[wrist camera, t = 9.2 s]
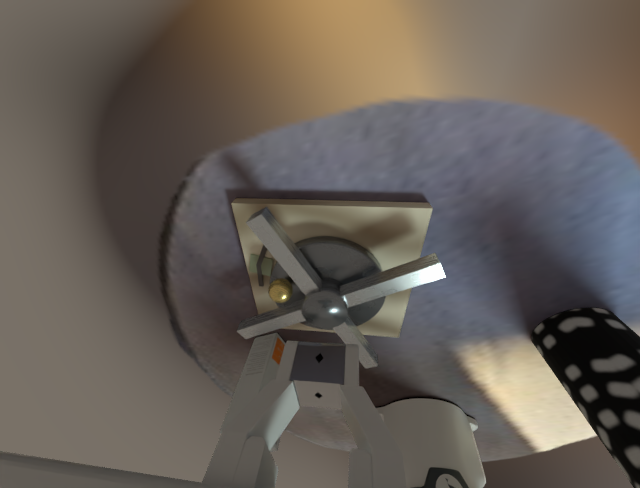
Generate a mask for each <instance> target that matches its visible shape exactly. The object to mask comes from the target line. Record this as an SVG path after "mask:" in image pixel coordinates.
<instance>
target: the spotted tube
mask: <svg viewBox="0 0 640 488" xmlns="http://www.w3.org/2000/svg"><path fill="white" fill-rule="evenodd" d="M532 342H533V344H534V345H535V347H536V348H537V349H538V351H539V352H540V354H541V355H542V357H543V358H544V359H545V361H546V362H547V364H548V365H549V367H550V368H551V370H552V371H553V372H554V374H555V375H556V377H557V378H558V380H559V381H560V382H561V384H562V385H563V387H564V388H565V390H566V391H567V392H568V394H569V395H570V397H571V398H572V400H573V401H574V402H575V404H576V405H577V407H578V408H579V410H580V411H581V412H582V414H583V415H584V417H585V418H586V420H587V421H588V423H589V424H590V425H591V427H592V428H593V430H594V431H595V433H596V434H597V435H598V437H599V438H600V440H601V441H602V442H603V444H604V445H605V447H606V448H607V450H608V451H609V453H610V454H611V455H612V457H613V458H614V460H615V461H616V463H617V464H618V465H619V467H620V468H621V470H622V471H623V473H624V474H625V475H626V477H627V478H628V480H629V481H630V483H631V484H632V485H633V487H634V488H640V337H639V336H638V335H637V334H636V333H635V332H634V331H633V330H631V329H630V328H629V327H628V326H627V325H626V324H625V323H623V322H622V321H621V320H620V319H619V318H618V317H617V316H616V315H614V314H613V313H612V312H610V311H607V310H604V309H600V308H580V309H573V310H569V311H565V312H562V313H559V314H556V315H554V316H552V317H550V318H548V319H546V320H545V321H543V322H542V323H541V324H539V325H538V326H537V327H536V328H535V330H534V331H533V333H532Z"/></svg>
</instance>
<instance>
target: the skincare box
mask: <svg viewBox="0 0 640 488" xmlns="http://www.w3.org/2000/svg"><path fill="white" fill-rule="evenodd" d="M285 344H286V343H285V342H284V340H283V339H282V338H281V337H280V336H279V334H278V333H273V334H269V335H265V336H260V337H257V338H255V339H254V342H253V344H252V347H251V350H250V352H249V355H248V358H247V360H246V363H245V366H244V368H243V371H242V374H241V376H240V379H239V381H238V384H237V387H236V390H235V392H234V395H233V398H232V400H231V403H230V405H229V408H228V411H227V414H226V416H225V419H224V421H223V424H222V426H221V429H220V433H222V431H223V430H224V429H225V428H226V427H227V426H228V425H229V423H230V422H231V421H232V420H233V419H234V418H235V417H236V416H237V415H238V414H239V413H240V412H241V411H242V410H243V409H244V408H245V407H246V406H247V405H248V404H249V402H250V401H251V400H252V399H253V398H254V397H255V396H256V395H257V394H258V393H259V392H260V391H261V390H262V389H263V388H264V387H265V386H266V385H267V384H268V383H269V381H270V380H271V379H275V378H276V375H277V371H278V368H279V364H280V361H281V357H282V353H283V350H284V346H285ZM280 436H281V435H280ZM279 441H280V437H279V438H278V439H277V441H276V442H275V444H274V445H273V447H272V448H271V450H270V452H273V451H277V450H278V446H279Z"/></svg>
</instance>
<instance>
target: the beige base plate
mask: <svg viewBox="0 0 640 488" xmlns="http://www.w3.org/2000/svg"><path fill="white" fill-rule="evenodd" d="M231 204H232V208H233V213H234V217H235V221H236V225H237V229H238V233H239V237H240V241H241V245H242V249H243V254H244V258H245V262H246V266H247V270H248V274H249V278H250V282H251V286H252V291H253V295H254V299H255V303H256V307H257V311H258V315H259V314H262V313H265V312H268V311H271V310H274V309H276V308H279V307H278V306H277V304H276V303H275V302H274V301H273V300H272V299H271V298H270V296H269V294H268V288H269V285H270V277H271V274H272V271H273V269H274V266H275V264H276V262H277V260H276V259H275V258H274V257H273V255H272V254H271V253H270V252H269V251H268V249H267V248H266V247H265V246H264V244H263V243H262V242H261V241H260V240H259V238H258V237H257V236H256V235H255V234H254V232H253V231H252V230H251V229H250V227H249V226H248V225H247V224H246V222H247V220H248V219H249V218H250V216H251V215H252V214H254V213H256V212H257V211H259V210H261V209H263V208H265V207H266V206H267V207H268V209H269V210H270V211H271V213H272V214H273V215H274V217H275V218H276V219H277V221H278V222H279V223H280V225H281V226H282V228H283V229H284V230H285V232H286V233H287V234H288V236H289V237H290V238H291V240H292V241H293V242H294V243H296V242H298V241H301V240H303V239H306V238H311V237H317V236H333V237H339V238H344V239H347V240H350V241H353V242H355V243H357V244H359V245H361V246H362V247H364V248H366V249H367V250H368V251H369V252H370V253H372V254H373V256H374V257H375V258H376V259H377V260H378V262H379V263H380V265H381V268H382V270H383V271H385V270H388V269H390V268H393V267H396V266H399V265H402V264H405V263H408V262H410V261H413V260H416V259H419V258H420V255H421V251H422V247H423V243H424V239H425V236H426V232H427V228H428V224H429V221H430V217H431V213H432V209H433V208H432V207H431V205H430V204H429V203H422V202H380V201H338V200H297V199H255V198H236V199H235V200H234V201H233V202H232V203H231ZM411 289H412V288H409V289H406V290H403V291H400V292H396V293H393V294H390V295H387V296H386V298H385V301H384V304H383V306H382V308H381V309H380V310H379V312H378V313H377V314H376V315H375V316H374V317H373V318H371V319H370V320H369V321H367V322H365V323H363V324H361V325H359V326H356V327H357V328H358V329H359V331H360V332H361V334H362V335H373V336H386V337H399V334H400V330H401V327H402V323H403V319H404V315H405V311H406V308H407V304H408V300H409V296H410V292H411ZM283 329H295V330H308V331H321V332H334V333H336V332H335V331H334V330H324V329H317V328H313V327H309V326H306V325H304V324H301V323H296V324H293V325H290V326H287V327H284V328H283Z"/></svg>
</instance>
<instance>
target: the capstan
mask: <svg viewBox="0 0 640 488" xmlns="http://www.w3.org/2000/svg"><path fill="white" fill-rule="evenodd" d="M246 224H247V225H248V226H249V227H250V229H251V230H252V231H253V232H254V234H255V235H256V236H257V237H258V238H259V240H260V241H261V242H262V243H263V244H264V246H265V247H266V248H267V249H268V251H269V252H270V253H271V254H272V255H273V257H274V258H275V259H276V260H277V262H276V264H275V266H274V269H273V271H272V274H271V277H270V285H269V288H268V294H269V296H270V298H271V299H272V300H273V301H274V302H275V303H276V304H277V306H278V307H279V308H276V309H274V310H271V311H268V312H265V313H262V314H259V315H256V316H254V317H251V318H248V319H245V320H242V321H241V322H240V324H239V326H238V329H237V332H238V333H239V334H240V335H241V336H242V337H244V338H245V339H248V338H251V337H255V336H258V335H261V334H264V333H267V332H271V331H274V330H277V329H280V328H284V327H287V326H290V325H293V324H296V323H301V324H304V325H306V326H309V327H313V328H317V329H324V330H334V331H335V332H336V333H337V334H338V336H339V337H340V338H341V339H342V341H343V342H344V343H345V344H358V346H359V361H360V362H361V364H362V365H363V366H364V367H365V368H371V367H376V366H378V357H377V354H376V352H375V351H374V350H373V348H372V347H371V346H370V344H369V343H368V342H367V340H366V339H365V338H364V336H363V335H362V334H361V332H360V331H359V329H358V328H357V327H356V326H359V325H361V324H363V323H365V322H367V321H369V320H370V319H371V318H373V317H374V316H375V315H376V314H377V313H378V312H379V310H380V309H381V308H382V306H383V304H384V301H385V298H386V296H387V295H390V294H393V293H396V292H400V291H403V290H406V289H409V288H412V287H416V286H419V285H422V284H425V283H429V282H432V281H435V280H438V279H441V278H445V277H446V276H445V274H444V271H443V269H442V266H441V264H440V262H439V260H438V258H437V256H436V254H435V253H433V254H430V255H428V256H425V257H422V258H419V259H416V260H413V261H410V262H408V263H405V264H402V265H399V266H396V267H393V268H390V269H388V270H385V271H383V270H382V268H381V265H380V263H379V262H378V260H377V259H376V258H375V257H374V256H373V254H372V253H370V252H369V251H368V250H367V249H366V248H364V247H362V246H361V245H359V244H357V243H355V242H353V241H350V240H347V239H344V238H339V237H333V236H317V237H311V238H306V239H303V240H301V241H298V242H296V243H294V242H293V241H292V240H291V238H290V237H289V236H288V234H287V233H286V232H285V230H284V229H283V228H282V226H281V225H280V223H279V222H278V221H277V219H276V218H275V217H274V215H273V214H272V213H271V211H270V210H269V209H268V207H267V206H266V207H265V208H263V209H261V210H259V211H257V212H256V213H254V214H252V215H251V216H250V218H249V219H248V220H247V222H246Z"/></svg>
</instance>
